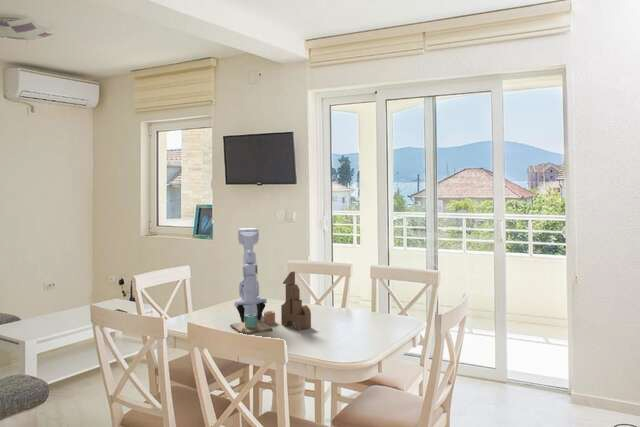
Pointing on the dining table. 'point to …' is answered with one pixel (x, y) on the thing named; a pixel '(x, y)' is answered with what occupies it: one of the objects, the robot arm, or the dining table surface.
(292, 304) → the wooden toy
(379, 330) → the dining table surface
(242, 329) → the brown piece
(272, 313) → the terracotta bead
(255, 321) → the teal bead
